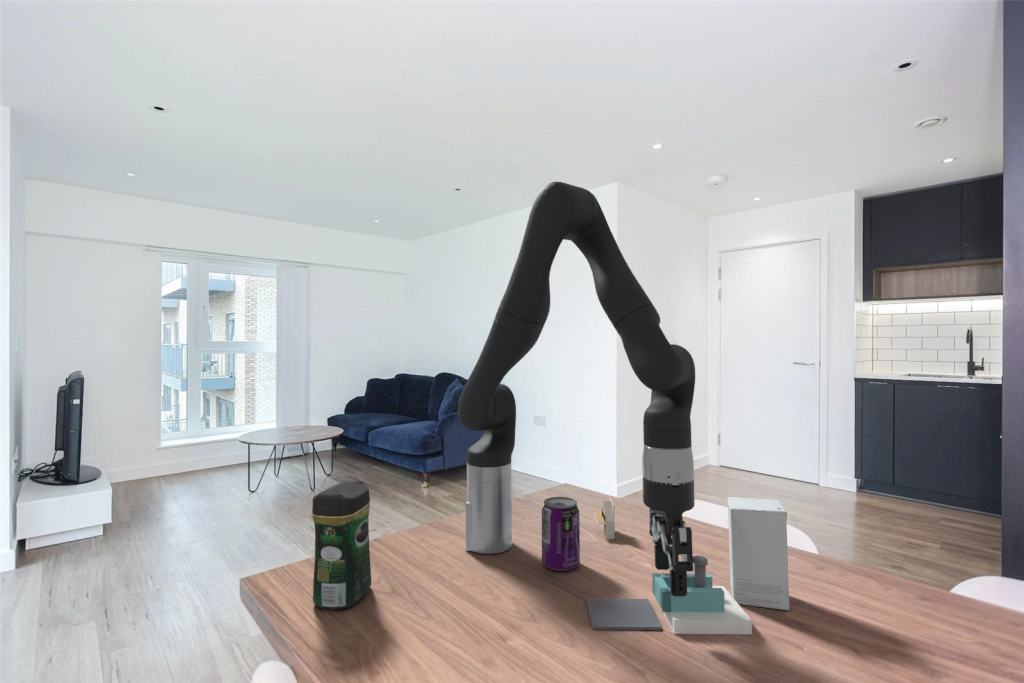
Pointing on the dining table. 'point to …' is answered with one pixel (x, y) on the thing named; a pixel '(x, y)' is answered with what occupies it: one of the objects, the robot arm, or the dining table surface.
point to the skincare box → (758, 552)
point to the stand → (710, 622)
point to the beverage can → (560, 533)
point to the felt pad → (622, 614)
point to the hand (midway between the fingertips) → (670, 581)
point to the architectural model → (607, 519)
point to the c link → (688, 595)
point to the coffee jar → (341, 545)
